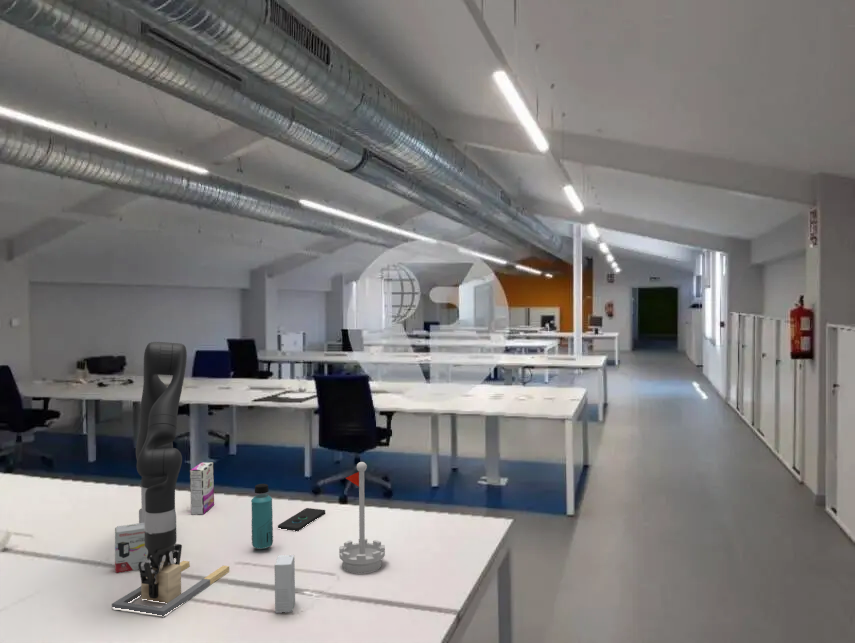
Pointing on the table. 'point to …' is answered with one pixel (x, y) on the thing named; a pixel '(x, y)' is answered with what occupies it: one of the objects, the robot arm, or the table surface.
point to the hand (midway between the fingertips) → (161, 592)
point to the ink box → (129, 547)
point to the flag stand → (361, 537)
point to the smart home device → (301, 519)
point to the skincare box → (284, 583)
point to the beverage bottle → (262, 518)
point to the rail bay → (176, 601)
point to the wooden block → (165, 584)
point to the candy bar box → (202, 488)
